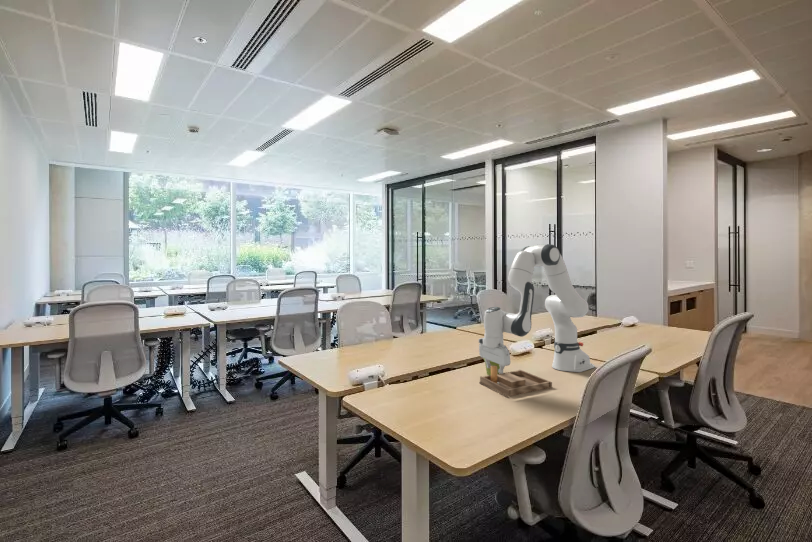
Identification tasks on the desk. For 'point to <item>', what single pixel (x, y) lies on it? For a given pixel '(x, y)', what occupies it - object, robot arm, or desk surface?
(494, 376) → the dowel
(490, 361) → the plant pot
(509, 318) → the robot arm
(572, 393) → the desk surface
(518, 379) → the channel
